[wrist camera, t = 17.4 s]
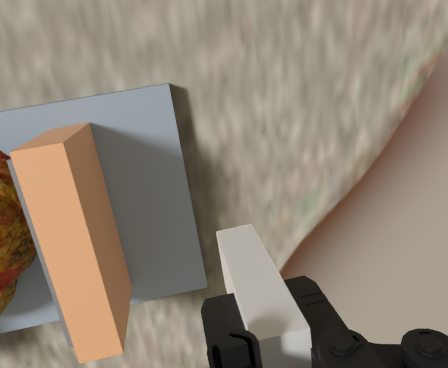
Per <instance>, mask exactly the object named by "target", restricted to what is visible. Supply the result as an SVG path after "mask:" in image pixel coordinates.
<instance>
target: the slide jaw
mask: <svg viewBox="0 0 448 368" xmlns="http://www.w3.org/2000/svg"><path fill="white" fill-rule="evenodd" d="M9 153H10V156H11V158H10V159H9V160H7V164H8V167H9V170H10V173H11V176H12V179H13V182H14V185H15V188H16V191H17V194H18V197H19V200H20V202H21V205H22V208H23V211H24V214H25V217H26V220H27V223H28V226H29V229H30V232H31V235H32V238H33V241H34V244H35V247H36V250H37V253H38V256H39V259H40V262H41V265H42V268H43V271H44V274H45V277H46V280H47V283H48V286H49V289H50V292H51V295H52V298H53V301H54V303H55V306H56V309H57V312H58V315H59V318H60V321H61V324H62V327H63V330H64V333H65V336H66V339H67V342H68V345H69V348H71V347H74V349H75V352H76V355H77V358H78V361H79V364H81V363H85V362H89V361H93V360H98V359H102V358H106V357H110V356H115V355H119V354H123V352H124V345H125V337H126V329H127V322H128V314H129V307H130V299H131V292H132V284H131V280H130V276H129V272H128V269H127V265H126V261H125V257H124V253H123V249H122V246H121V242H120V238H119V234H118V230H117V226H116V223H115V219H114V215H113V211H112V207H111V203H110V200H109V196H108V192H107V188H106V184H105V180H104V177H103V173H102V169H101V165H100V161H99V158H98V154H97V150H96V146H95V142H94V138H93V135H92V131H91V127H90V123H83V124H77V125H71V126H66V127H60V128H54V129H50V130H48V131H46V132H44V133H43V134H41V135H39V136H37V137H35V138H34V139H32V140H30V141H28V142H27V143H25V144H23V145H21V146H19V147H18V148H16V149H14V150H12V151H10V152H9Z"/></svg>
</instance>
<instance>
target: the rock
mask: <svg viewBox="0 0 448 368" xmlns="http://www.w3.org/2000/svg"><path fill="white" fill-rule="evenodd" d="M10 158H11V157H9V156H8V155H6V154H5V153H3V152H2V151H1V150H0V315H1V313H2V312H3V311H4V309H5V308H6V307H7V306H8V304H9V303H10V301H11V300H12V298H13V296H14V294H15V291H16V287H17V281H18V278H19V276H20V275H21V273H22V272H23V271H24V270H26V269H27V268H28V267H30V265H31V264H32V262H33V261H34V259H35V257H36V255H37V254H38V253H37V250H36V247H35V244H34V241H33V238H32V235H31V232H30V229H29V226H28V223H27V220H26V217H25V214H24V211H23V208H22V205H21V202H20V200H19V197H18V194H17V191H16V188H15V185H14V182H13V179H12V176H11V173H10V170H9V167H8V164H7V160H9V159H10Z"/></svg>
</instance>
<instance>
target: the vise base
mask: <svg viewBox="0 0 448 368" xmlns="http://www.w3.org/2000/svg"><path fill="white" fill-rule="evenodd" d="M83 123H90V127H91V131H92V135H93V138H94V142H95V146H96V150H97V154H98V158H99V161H100V165H101V169H102V173H103V177H104V180H105V184H106V188H107V192H108V196H109V200H110V203H111V207H112V211H113V215H114V219H115V223H116V226H117V230H118V234H119V238H120V242H121V246H122V249H123V253H124V257H125V261H126V265H127V269H128V272H129V276H130V280H131V284H132V292H131V299H130V305H131V304H136V303H140V302H145V301H149V300H154V299H158V298H163V297H167V296H172V295H176V294H181V293H185V292H190V291H194V290H199V289H203V288H208V285H207V280H206V274H205V269H204V264H203V259H202V254H201V249H200V243H199V238H198V233H197V228H196V223H195V217H194V212H193V207H192V202H191V197H190V192H189V186H188V181H187V176H186V171H185V166H184V160H183V155H182V150H181V145H180V140H179V134H178V129H177V124H176V119H175V114H174V109H173V103H172V98H171V93H170V88H169V83H167V84H161V85H155V86H149V87H143V88H137V89H131V90H125V91H119V92H113V93H107V94H101V95H95V96H89V97H83V98H77V99H71V100H65V101H59V102H53V103H47V104H41V105H35V106H29V107H23V108H17V109H11V110H6V111H0V150H1V151H2V152H3V153H5V154H6V155H8V156H9V157H11V156H10V153H9V152H10V151H12V150H14V149H16V148H18V147H19V146H21V145H23V144H25V143H27V142H28V141H30V140H32V139H34V138H35V137H37V136H39V135H41V134H43V133H44V132H46V131H48V130H50V129H54V128H60V127H66V126H71V125H77V124H83ZM59 320H60V318H59V315H58V312H57V309H56V306H55V303H54V301H53V298H52V295H51V292H50V289H49V286H48V283H47V280H46V277H45V274H44V271H43V268H42V265H41V262H40V259H39V256H38V254H37V255H36V257H35V259H34V261H33V262H32V264H31V265H30V267H28V268H27V269H26V270H24V271H23V272H22V273H21V275H20V276H19V278H18V281H17V287H16V291H15V294H14V296H13V298H12V300H11V301H10V303H9V304H8V306H7V307H6V308H5V309H4V311H3V312H2V313H1V315H0V334H1V333H5V332H10V331H14V330H19V329H23V328H28V327H32V326H37V325H41V324H46V323H50V322H55V321H59Z"/></svg>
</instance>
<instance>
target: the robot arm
mask: <svg viewBox="0 0 448 368" xmlns="http://www.w3.org/2000/svg"><path fill="white" fill-rule="evenodd" d="M216 236H217V241H218V247H219V253H220V259H221V264H222V270H223V276H224V282H225V287H226V291H227V294H226V295H222V296H217V297H213V298H208V299H205V301H204V303H203V306H202V308H201V315H202V320H203V326H204V332H205V338H206V343H207V356H208V361H209V366H210V368H448V336H447V335H445V334H443V333H441V332H439V331H435V330H431V329H414V330H411V331H408V332H407V333H406V334H405V335H404V336H403V338H402V341H401V344H375V343H370V342H368V341H367V340H366V339H365V338H364V337H363V336H362V335H361V334H359V333H357V332H355V331H352V330H349V329H348V328H347V326H346V325H345V324H344V322H343V321H342V319H341V318H340V316H339V315H338V314H337V312H336V311H335V309H334V308H333V306H332V305H331V304H330V302H329V301H328V299H327V298H326V297H325V295H324V294H323V293H322V291H321V290H320V288H319V286H318V285H317V284H316V282H314V281H313V280H311V279H309V278H308V277H306V276H300V277H296V278H291V279H287V280H283V279H282V277H281V276H280V274H279V272H278V270H277V268H276V267H275V265H274V263H273V261H272V260H271V258H270V256H269V254H268V253H267V251H266V249H265V247H264V245H263V244H262V242H261V240H260V238H259V237H258V235H257V233H256V231H255V229H254V228H253V226H252V224H248V225H243V226H238V227H234V228H229V229H224V230H219V231H216Z"/></svg>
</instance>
